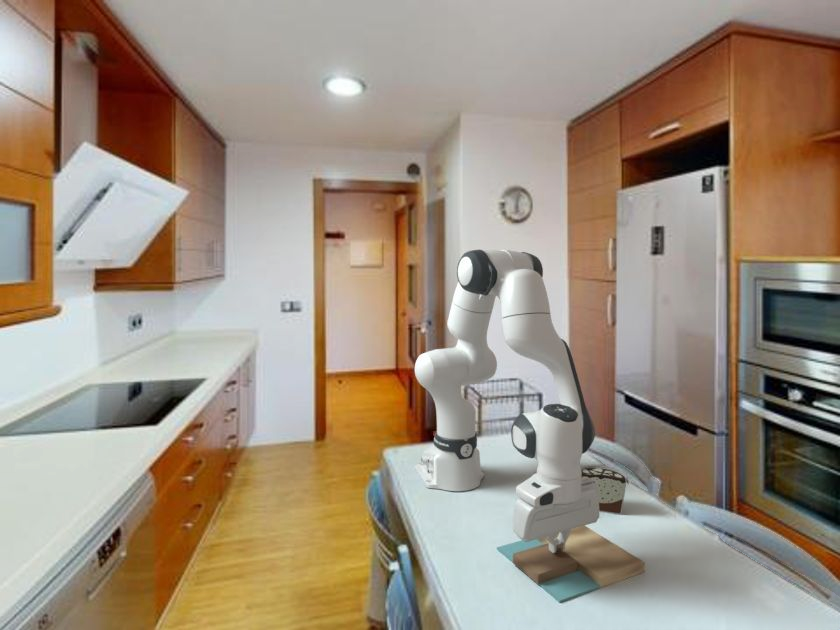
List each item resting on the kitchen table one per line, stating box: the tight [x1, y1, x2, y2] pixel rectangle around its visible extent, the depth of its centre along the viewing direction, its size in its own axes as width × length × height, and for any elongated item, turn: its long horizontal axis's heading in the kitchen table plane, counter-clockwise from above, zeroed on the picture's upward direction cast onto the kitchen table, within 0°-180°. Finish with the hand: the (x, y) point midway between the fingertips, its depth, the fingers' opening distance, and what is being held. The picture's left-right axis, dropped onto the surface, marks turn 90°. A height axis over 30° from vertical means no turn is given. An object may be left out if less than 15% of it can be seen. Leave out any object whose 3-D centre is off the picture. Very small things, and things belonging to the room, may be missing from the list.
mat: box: [496, 539, 601, 603], centre depth 104 cm, size 20×10×1 cm, turn 26°
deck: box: [537, 525, 646, 589], centre depth 109 cm, size 20×12×2 cm, turn 26°
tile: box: [512, 543, 578, 585], centre depth 103 cm, size 8×10×2 cm
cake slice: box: [580, 464, 630, 516], centre depth 131 cm, size 12×6×10 cm, turn 71°
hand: (556, 550), depth 105 cm, fingers closed
